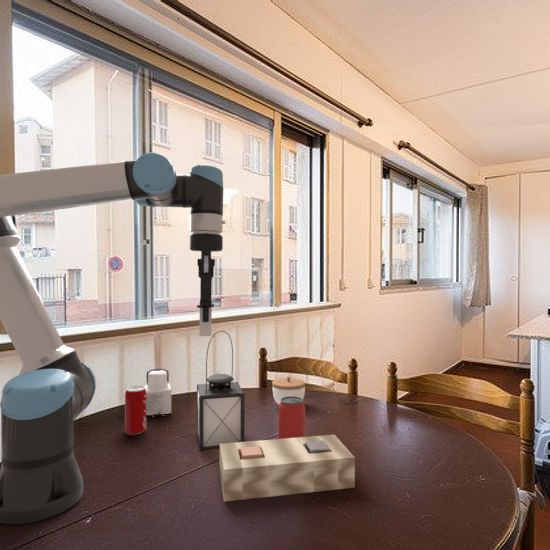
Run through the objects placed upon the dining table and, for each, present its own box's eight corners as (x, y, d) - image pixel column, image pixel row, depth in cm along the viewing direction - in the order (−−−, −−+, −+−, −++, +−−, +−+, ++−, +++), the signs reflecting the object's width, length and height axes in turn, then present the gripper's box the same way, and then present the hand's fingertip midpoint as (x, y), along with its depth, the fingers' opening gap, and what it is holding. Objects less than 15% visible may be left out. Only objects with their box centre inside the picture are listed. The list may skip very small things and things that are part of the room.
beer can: (303, 455, 97) (303, 404, 97) (276, 453, 98) (276, 402, 98) (307, 444, 103) (307, 396, 103) (281, 442, 105) (281, 394, 105)
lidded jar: (311, 404, 135) (311, 375, 135) (294, 413, 126) (294, 382, 126) (283, 398, 141) (283, 371, 141) (265, 407, 132) (265, 378, 132)
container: (144, 409, 130) (144, 368, 130) (169, 407, 132) (169, 366, 132) (144, 417, 123) (144, 373, 123) (171, 415, 125) (171, 372, 125)
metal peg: (310, 479, 85) (310, 449, 85) (305, 469, 89) (305, 442, 89) (329, 477, 86) (329, 448, 86) (323, 468, 90) (323, 440, 90)
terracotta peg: (242, 485, 82) (242, 455, 82) (240, 476, 86) (240, 447, 86) (262, 483, 83) (262, 454, 83) (259, 474, 87) (259, 445, 87)
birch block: (223, 501, 77) (223, 469, 77) (219, 471, 89) (219, 443, 89) (354, 487, 83) (354, 457, 83) (334, 460, 94) (334, 434, 94)
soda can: (147, 434, 110) (147, 388, 110) (125, 437, 108) (125, 391, 108) (145, 426, 115) (145, 383, 115) (124, 429, 113) (124, 385, 113)
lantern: (238, 430, 113) (238, 327, 113) (245, 446, 102) (244, 333, 102) (196, 434, 110) (196, 329, 110) (199, 451, 99) (198, 334, 99)
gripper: (223, 231, 90) (222, 339, 90) (221, 236, 103) (220, 331, 103) (188, 230, 89) (187, 340, 89) (190, 236, 102) (190, 331, 102)
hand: (205, 335), depth 96 cm, fingers closed
